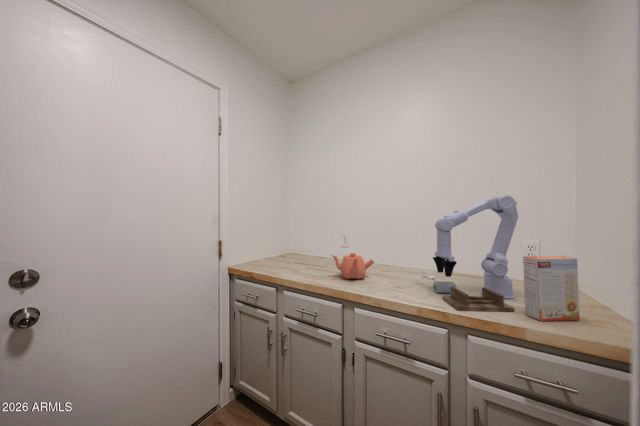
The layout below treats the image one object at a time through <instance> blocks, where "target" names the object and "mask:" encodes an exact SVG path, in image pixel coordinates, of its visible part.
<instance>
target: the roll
mask: <svg viewBox="0 0 640 426" xmlns="http://www.w3.org/2000/svg"><path fill="white" fill-rule="evenodd" d="M432 287H433V291H434V293H436V294H451V287H455V288H457V286H456V283H455V282H454V281H437V280H436V281H433V283H432Z"/></svg>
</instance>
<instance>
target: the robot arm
mask: <svg viewBox="0 0 640 426" xmlns="http://www.w3.org/2000/svg"><path fill="white" fill-rule="evenodd" d="M517 205H518V202H517V201H516V200H515V198H514V197H513V196H512V195H508V194H504V195H499V196H491V197H490V198H487V199H484V200H482V201H480V202H478V203H476V204H474V205H473V206H471V207H469V208H467V209H465V210H462V209H456V210H453V213H451V214H449V215H444V216H443V217H444V218H439V219H437V220H436V222H435V224H434V227H435V228H436V229H435V230H436V251H435V252H434V256H433V257H432V260H433V261H434V263H435V265H436V269H437V270H436V271H437V272H438V273H444V275H445V277H447V278H448V277H452V274H453V272H454V271H453V270H454V268H455V267H456V265H457V263H458V262H457V261H456V260H455V257H454V256H453V254H452V234H451V233H452V231H451V230H453V228H456V227H457V226H459V225H462V224H464V223H466V222H467V221H468V219H469V217H472V216H473V215H476V214H478V213H481V212H483V211H486V210H491V211H493V212H494V213H495V214H497V215H498V216H499V218H500V222H499V225H498V229H497V232H496V235H495V238H494V240H493V244H492V247H491V250H490V252H489V253H487V254H486V255H485V258H484V259H483V260H482V261H481V268H482V270H483V271H484V272H483V273H484V274H483V276H484V277H483V284H484V286H483V287H485V288H488V289H490V290H492V291H494V292H497V293H499V294H501V295H503V296H504V299H515V297H514V296H513V294H514V293H513V292H514V291H513V281H512V278H511V277H510V276H508V275H507V273H508V272H509V268H508V263H509V260H508V258H507V253H508V250H509V247H510V243H511V240H512V238H513V235H514V232H515V229H516V226H517V223H518V220H519V214H518V209H517ZM479 293H481V294H482V290H480V291H479Z"/></svg>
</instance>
